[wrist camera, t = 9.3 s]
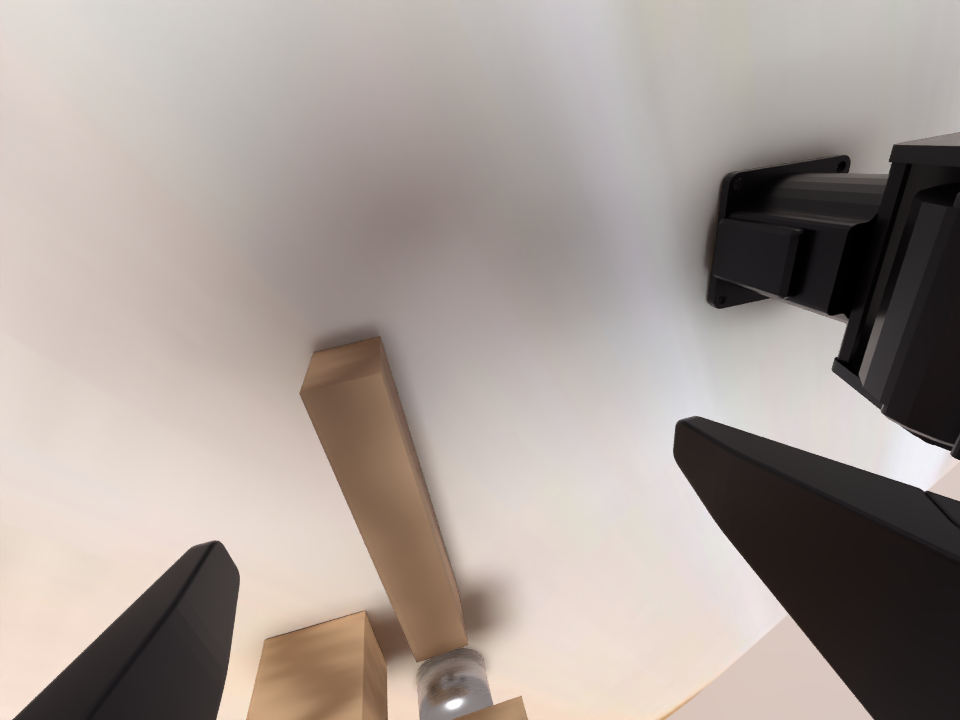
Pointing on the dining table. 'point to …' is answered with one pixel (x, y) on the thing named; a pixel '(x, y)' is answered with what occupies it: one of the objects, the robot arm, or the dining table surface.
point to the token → (452, 685)
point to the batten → (385, 490)
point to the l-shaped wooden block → (335, 677)
